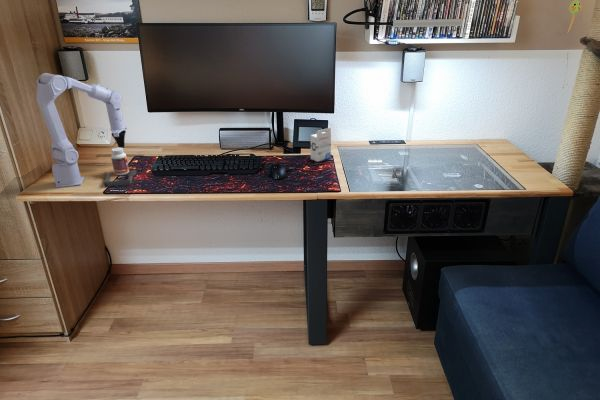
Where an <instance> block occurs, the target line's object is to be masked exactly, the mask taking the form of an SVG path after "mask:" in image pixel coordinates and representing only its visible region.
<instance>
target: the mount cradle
mask: <svg viewBox="0 0 600 400" xmlns="http://www.w3.org/2000/svg"><path fill="white" fill-rule="evenodd" d="M137 173H138V172H137V169H132V170H131V171H129V173H128V176H127V179H114V180H111V179H112V177H111V175H110V173H109V172H107V171H105V172H104V177H105V179H104V181H103V185H104V188H109V187H119V186H120V187H121V186H127V185H128V186H129V185H131V184H132V180H133V177H135V176H136V175H137Z"/></svg>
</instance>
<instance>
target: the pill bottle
mask: <svg viewBox="0 0 600 400" xmlns="http://www.w3.org/2000/svg"><path fill="white" fill-rule="evenodd" d="M110 158H111V163H112V168H113V172H114V174H115V176H116V175H117V176H124V175H127V174H129V172H130V168H129V163H128V157H127V154H126V152H124V148H120V147H113V148H111V156H110Z"/></svg>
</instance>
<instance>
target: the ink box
mask: <svg viewBox="0 0 600 400" xmlns="http://www.w3.org/2000/svg"><path fill="white" fill-rule="evenodd" d="M331 131H332V129H331V127H327V128H324V129H319V130H316V133H315V134H310V160H312V161H315V162H316V163H317V162H321V161H325V160H328V159H330V158H331V157H332V156H331V155H332V152H331V151H332V150H331V149H332V144H331V143H332V132H331Z"/></svg>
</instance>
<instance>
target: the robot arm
mask: <svg viewBox="0 0 600 400" xmlns="http://www.w3.org/2000/svg"><path fill="white" fill-rule="evenodd" d="M36 84H37V85H36V86H37V88H36V97H35V98H36V102H37V104H38V107H39V110H40V112H41V115H42V118H43V120H44V123H45V125H46V128H47V130H48V133H49V136H50V138H51V140H52V141H51V145H50V147H51V156H52V157H53V159H54V160H55V161H56V163H52V167H51V171H52V175H53V179H54V182H55V188H63V187H64V188H65V187H73V186H80V185H82V183H83V181H84V179H85V177H84V176H82V175H81V172H80V169H79V163H78V160H79V152H78V151H77V150H76V149H75V147H74V146H73V143H71V142H70V140H69V139H68V137H67V135H66V131H65V128H64V126H63V123H62V120H61V118H60V115H59V112H58V109H57V107H56V104H55V100H56V99H57V97H59V96H60V95H61V94H63V92H65V91H66V90H69V89H71V88H72V89H74V90H78V91H81V92H84V93H86V94H87V96H88V97H89V98H92V99H95V100H97V101H101V102H103V103H104V104H105V108H106V112H107V116H108V121H109V125H110V132H111V137H113V139H114V140H115V142H116V144H117V148H119V147H120V148H123V149H124V148H125V145H126V144H125V137H126V132H127V130H128V129H129V128H128V126H125V122H124V116H123V113H122V108H121V107H122V105H121V104H122V100H123V97H122V96H121V94H120V93H119V92H118V91H116V90H111V88H109V87H103V86H101V84H100V83H98V82H97V83H91V84H87V83H84V82H82V81H79V80H77V79H74V78H72V77H70V76H63V75H61V74H53V73H49V72H44V73H41V74H40V75H39V76H38V79H36Z"/></svg>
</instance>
